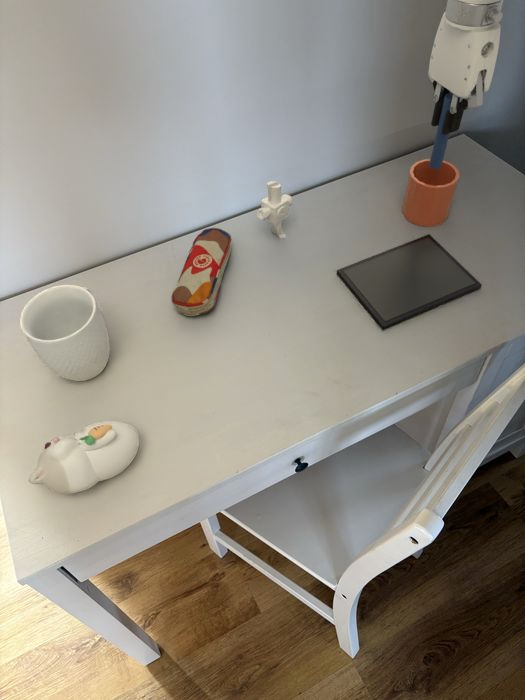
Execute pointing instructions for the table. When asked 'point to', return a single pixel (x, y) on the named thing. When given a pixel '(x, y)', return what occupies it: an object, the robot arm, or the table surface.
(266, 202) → the toy robot
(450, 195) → the pen cup
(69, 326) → the mug
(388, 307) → the tablet
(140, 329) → the table surface
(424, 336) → the table surface
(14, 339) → the table surface
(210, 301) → the pencil case
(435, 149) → the stylus
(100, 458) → the cat figurine
